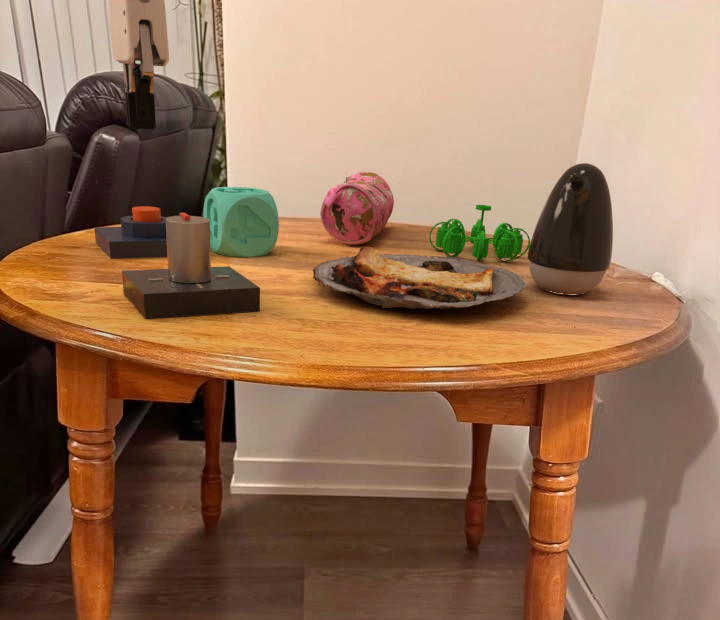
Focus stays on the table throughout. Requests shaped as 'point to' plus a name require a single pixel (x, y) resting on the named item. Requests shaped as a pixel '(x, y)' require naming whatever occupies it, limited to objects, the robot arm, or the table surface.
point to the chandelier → (479, 238)
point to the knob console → (190, 293)
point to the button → (146, 214)
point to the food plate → (418, 280)
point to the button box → (133, 239)
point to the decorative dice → (241, 221)
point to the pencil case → (357, 208)
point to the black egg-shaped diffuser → (573, 233)
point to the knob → (188, 248)
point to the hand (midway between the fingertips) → (141, 128)
